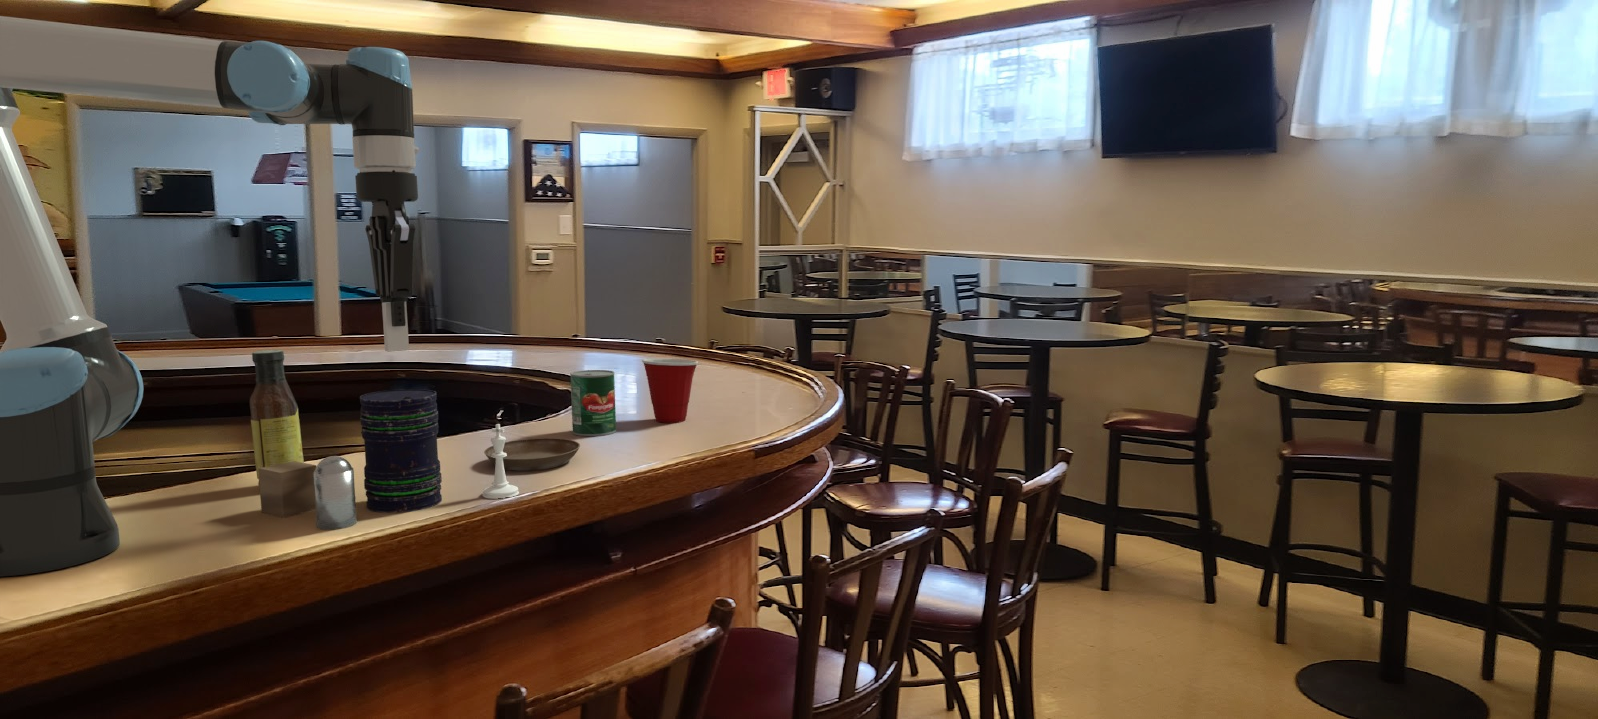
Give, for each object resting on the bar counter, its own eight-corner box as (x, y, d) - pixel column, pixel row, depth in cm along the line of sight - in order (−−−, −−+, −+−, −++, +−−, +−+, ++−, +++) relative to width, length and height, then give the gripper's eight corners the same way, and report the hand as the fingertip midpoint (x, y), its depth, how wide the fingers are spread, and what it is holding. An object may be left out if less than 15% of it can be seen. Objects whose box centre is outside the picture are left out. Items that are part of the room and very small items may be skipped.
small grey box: (283, 518, 135) (280, 472, 134) (261, 512, 138) (258, 468, 137) (319, 509, 139) (316, 465, 139) (296, 504, 142) (293, 461, 141)
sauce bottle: (314, 482, 154) (305, 348, 151) (283, 493, 148) (273, 354, 145) (278, 480, 155) (268, 347, 153) (245, 490, 149) (235, 352, 147)
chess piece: (508, 499, 143) (505, 428, 142) (475, 498, 144) (472, 427, 143) (525, 490, 148) (522, 421, 147) (493, 489, 149) (490, 420, 148)
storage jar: (353, 503, 142) (346, 395, 140) (423, 490, 149) (417, 386, 147) (384, 517, 135) (377, 403, 133) (455, 502, 142) (450, 394, 140)
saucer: (509, 479, 156) (508, 462, 155) (470, 463, 167) (469, 446, 167) (597, 464, 165) (596, 447, 165) (554, 449, 176) (554, 434, 176)
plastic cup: (711, 419, 202) (710, 358, 200) (669, 427, 194) (668, 363, 192) (673, 413, 209) (672, 353, 207) (631, 420, 201) (629, 359, 199)
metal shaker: (322, 531, 129) (317, 462, 127) (312, 523, 132) (308, 455, 131) (361, 525, 131) (357, 456, 130) (350, 517, 135) (346, 450, 134)
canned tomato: (590, 426, 195) (588, 368, 194) (625, 430, 192) (623, 371, 190) (563, 434, 188) (561, 374, 187) (598, 438, 185) (596, 376, 183)
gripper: (432, 169, 133) (442, 352, 136) (399, 174, 144) (409, 344, 147) (371, 168, 129) (383, 357, 132) (342, 173, 139) (353, 348, 142)
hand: (397, 350), depth 139 cm, fingers closed
